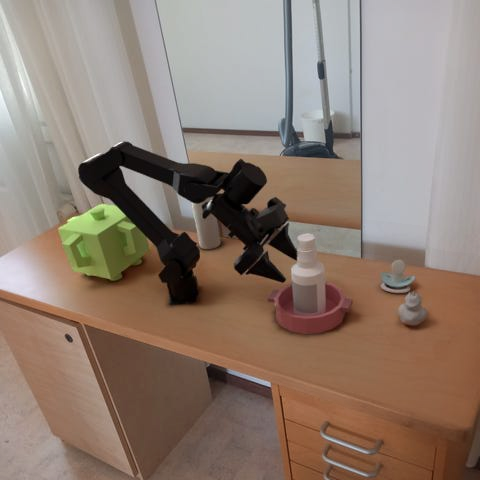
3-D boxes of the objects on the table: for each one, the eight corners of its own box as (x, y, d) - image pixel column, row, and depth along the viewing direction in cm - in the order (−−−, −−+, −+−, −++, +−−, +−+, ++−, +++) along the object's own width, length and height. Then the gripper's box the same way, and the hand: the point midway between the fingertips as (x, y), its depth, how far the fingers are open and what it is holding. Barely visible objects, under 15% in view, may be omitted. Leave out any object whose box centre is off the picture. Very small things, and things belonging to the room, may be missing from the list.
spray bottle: (291, 306, 109) (285, 232, 98) (322, 301, 109) (319, 227, 99) (297, 324, 103) (291, 247, 93) (329, 319, 103) (327, 242, 93)
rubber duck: (393, 327, 99) (395, 293, 94) (403, 309, 103) (405, 276, 99) (421, 333, 96) (425, 298, 92) (429, 314, 100) (433, 281, 96)
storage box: (115, 298, 122) (94, 235, 112) (52, 283, 132) (29, 225, 123) (173, 252, 139) (160, 193, 129) (114, 242, 149) (97, 187, 139)
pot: (260, 327, 104) (258, 312, 102) (282, 291, 115) (281, 276, 113) (342, 339, 97) (342, 323, 95) (358, 300, 108) (358, 284, 106)
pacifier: (409, 297, 107) (416, 282, 111) (411, 273, 103) (418, 258, 107) (376, 292, 110) (383, 278, 114) (376, 268, 106) (384, 254, 110)
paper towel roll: (213, 251, 136) (200, 176, 124) (195, 248, 139) (181, 174, 127) (227, 239, 141) (215, 166, 129) (209, 237, 144) (197, 164, 132)
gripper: (240, 211, 87) (303, 271, 89) (276, 174, 101) (330, 226, 103) (208, 248, 95) (267, 302, 97) (245, 208, 108) (296, 256, 110)
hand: (292, 269), depth 101 cm, fingers open, 9 cm apart
